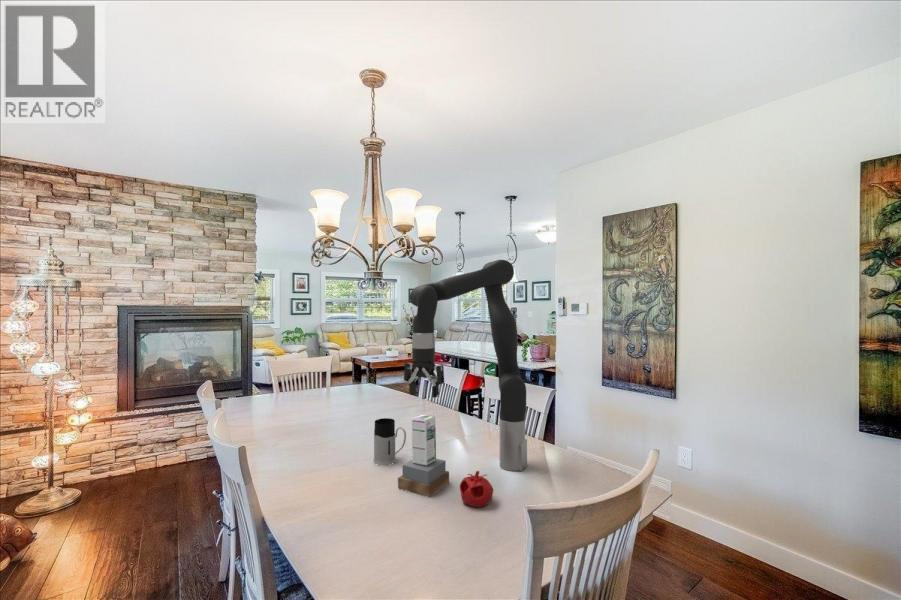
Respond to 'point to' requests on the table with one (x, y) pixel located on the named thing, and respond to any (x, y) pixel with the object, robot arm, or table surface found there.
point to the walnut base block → (423, 485)
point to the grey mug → (385, 441)
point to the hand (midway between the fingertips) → (423, 395)
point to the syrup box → (423, 439)
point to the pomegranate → (476, 490)
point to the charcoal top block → (424, 471)
